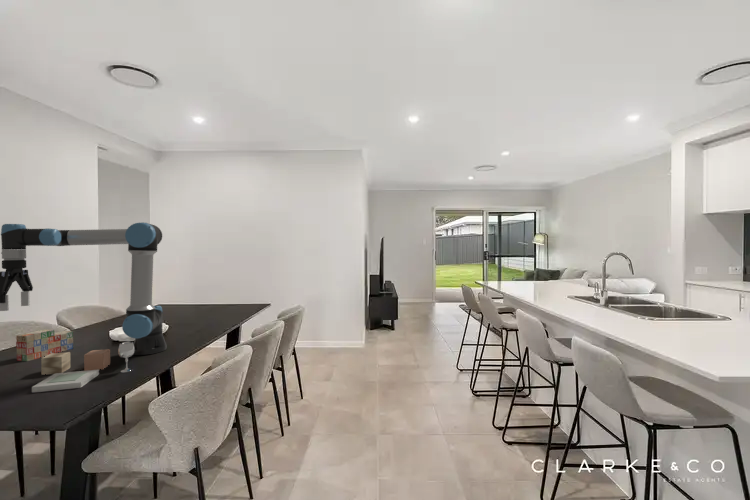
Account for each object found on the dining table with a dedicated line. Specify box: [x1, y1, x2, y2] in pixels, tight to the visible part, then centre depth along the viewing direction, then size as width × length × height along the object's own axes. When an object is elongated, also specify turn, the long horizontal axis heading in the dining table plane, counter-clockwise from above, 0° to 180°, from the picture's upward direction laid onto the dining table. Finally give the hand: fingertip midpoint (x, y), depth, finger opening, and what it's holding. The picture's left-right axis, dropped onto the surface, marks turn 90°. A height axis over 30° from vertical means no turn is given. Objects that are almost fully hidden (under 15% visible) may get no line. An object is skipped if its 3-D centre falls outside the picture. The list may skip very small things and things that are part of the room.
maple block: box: [40, 351, 71, 376], centre depth 153 cm, size 7×7×7 cm
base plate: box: [31, 370, 100, 393], centre depth 139 cm, size 15×15×2 cm
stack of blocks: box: [15, 328, 74, 362], centre depth 178 cm, size 21×6×12 cm, turn 169°
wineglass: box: [117, 340, 135, 373], centre depth 153 cm, size 6×6×12 cm
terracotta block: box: [83, 348, 111, 371], centre depth 157 cm, size 7×7×7 cm
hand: (15, 308), depth 155 cm, fingers open, 13 cm apart
